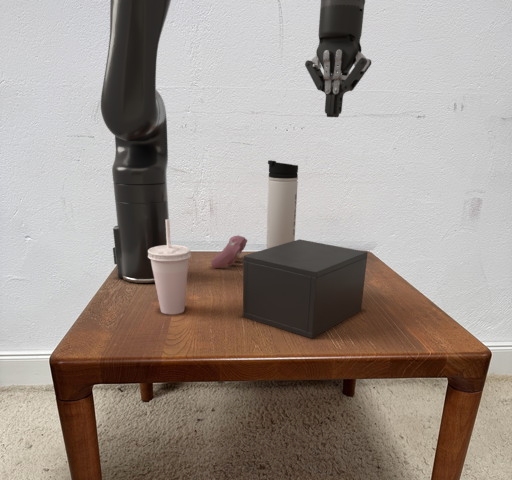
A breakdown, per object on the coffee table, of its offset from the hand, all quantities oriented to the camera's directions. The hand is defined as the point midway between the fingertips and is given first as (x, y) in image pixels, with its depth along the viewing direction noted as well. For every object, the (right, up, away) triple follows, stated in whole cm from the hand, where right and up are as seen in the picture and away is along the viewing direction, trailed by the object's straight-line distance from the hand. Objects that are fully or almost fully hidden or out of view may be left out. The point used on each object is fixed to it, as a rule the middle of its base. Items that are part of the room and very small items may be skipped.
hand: (332, 117), depth 92 cm
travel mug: (-9, -23, +19) cm, 31 cm away
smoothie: (-28, -37, -14) cm, 49 cm away
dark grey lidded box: (-7, -38, -15) cm, 41 cm away
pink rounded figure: (-20, -26, +11) cm, 34 cm away
